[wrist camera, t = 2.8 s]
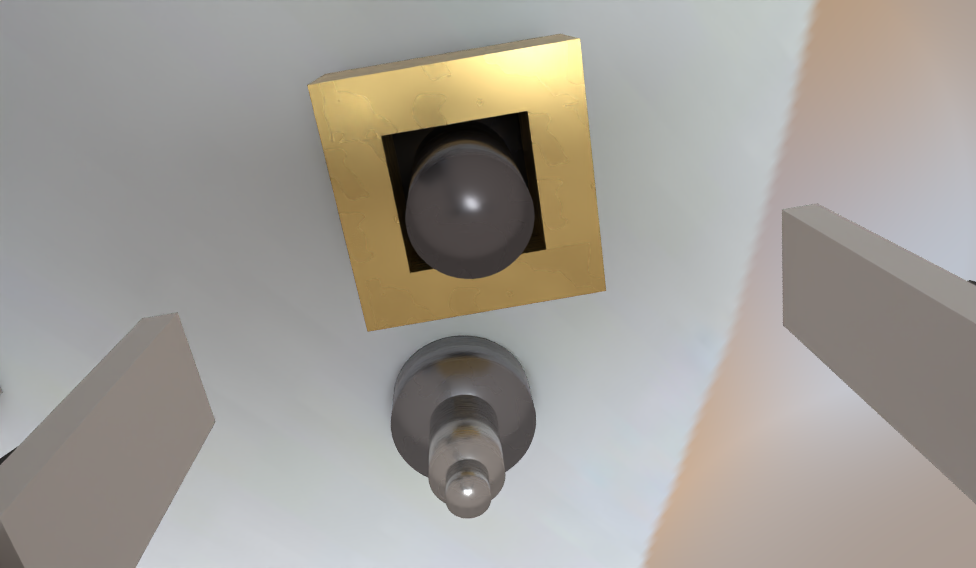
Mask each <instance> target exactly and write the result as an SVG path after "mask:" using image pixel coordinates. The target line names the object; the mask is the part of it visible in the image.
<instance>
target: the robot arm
mask: <svg viewBox="0 0 976 568" xmlns="http://www.w3.org/2000/svg"><path fill="white" fill-rule="evenodd" d="M782 269H783V270H782V271H783V326H784V327H786V328H787V329H788V330H789V331H790V332H791V333H792V334H793V335H794V336H795V337H796V338H797V339H798V340H800V341H801V342H802V343H803V344H804V345H805V346H806V347H807V348H808V349H809V350H810V351H811V352H812V353H814V354H815V355H816V356H817V357H818V358H819V359H820V360H821V361H822V362H823V363H824V364H825V365H827V366H828V367H829V368H830V369H831V370H832V371H833V372H834V373H835V374H836V375H837V376H838V377H839V378H840V379H842V380H843V381H844V382H845V383H846V384H847V385H848V386H849V387H850V388H851V389H853V391H855V392H856V393H857V394H858V395H859V396H860V397H861V398H862V399H863V400H864V401H865V402H866V403H867V404H868V405H870V406H871V407H872V408H873V409H874V410H875V411H876V412H877V413H878V414H879V415H881V417H882V418H884V419H885V420H886V421H887V422H888V423H889V424H890V425H891V426H892V427H893V428H894V429H895V430H896V431H898V432H899V433H900V434H901V435H902V436H903V437H904V438H905V439H906V440H907V441H908V442H909V443H911V444H912V445H913V446H914V447H915V448H916V449H917V450H918V451H919V452H920V453H921V454H922V455H923V456H925V457H926V458H927V459H928V460H929V461H930V462H931V463H932V464H933V465H934V466H935V467H936V468H937V469H939V470H940V471H941V472H942V473H943V474H944V475H945V476H946V477H947V478H948V479H949V480H950V481H952V482H953V483H954V484H955V485H956V486H957V487H958V488H959V489H960V490H961V491H962V492H963V493H964V494H966V495H967V496H968V497H969V498H970V499H971V500H972V501H973V502H974V503H975V504H976V282H975V281H971V280H969V281H966V280H964V279H962V278H960V277H958V276H956V275H954V274H952V273H950V272H948V271H947V270H944V269H943V268H941V267H939V266H937V265H935V264H933V263H931V262H929V261H927V260H925V259H923V258H922V257H919V256H918V255H916V254H914V253H912V252H910V251H908V250H906V249H904V248H902V247H900V246H898V245H896V244H895V243H893V242H891V241H889V240H887V239H885V238H883V237H881V236H879V235H877V234H875V233H873V232H871V231H869V230H867V229H866V228H864V227H862V226H860V225H858V224H856V223H854V222H852V221H850V220H848V219H846V218H844V217H842V216H841V215H839V214H836V213H834V212H833V211H831V210H829V209H827V208H825V207H823V206H821V205H819V204H811V205H806V206H799V207H794V208H788V209H783V210H782ZM214 423H215V419H214V416H213V413H212V410H211V407H210V405H209V402H208V399H207V396H206V393H205V390H204V387H203V384H202V382H201V379H200V376H199V373H198V370H197V367H196V364H195V361H194V359H193V356H192V353H191V350H190V347H189V344H188V341H187V338H186V335H185V333H184V330H183V327H182V324H181V321H180V318H179V315H178V312H177V313H171V314H165V315H159V316H154V317H148V318H142V319H141V320H140V321H139V322H138V323H137V324H136V325H135V326H134V327H133V329H132V330H131V331H130V332H129V333H128V334H127V335H126V336H125V337H124V338H123V339H122V340H121V341H120V342H119V343H118V344H117V345H116V346H115V347H114V348H113V349H112V350H111V351H110V352H109V353H108V354H107V355H106V356H105V357H104V358H103V359H102V361H101V362H100V363H99V364H98V365H97V366H96V367H95V368H94V369H93V370H92V371H91V372H90V373H89V374H88V375H87V376H86V377H85V378H84V379H83V380H82V381H81V382H80V383H79V384H78V385H77V386H76V387H75V388H74V389H73V390H72V392H71V393H70V394H69V395H68V396H67V397H66V398H65V399H64V400H63V401H62V402H61V403H60V404H59V405H58V406H57V407H56V408H55V409H54V410H53V411H52V412H51V413H50V414H49V415H48V416H47V417H46V418H45V419H44V420H43V421H42V423H41V424H40V425H39V426H38V427H37V428H36V429H35V430H34V431H33V432H32V433H31V434H30V435H29V436H28V437H27V438H26V439H25V440H24V441H23V442H22V443H21V444H20V445H19V446H18V447H17V448H15V449H14V450H12V451H11V452H9V453H8V454H6V455H5V456H3V457H2V458H0V568H135V567H136V566H137V564H138V562H139V560H140V558H141V557H142V555H143V553H144V551H145V549H146V547H147V546H148V544H149V542H150V540H151V538H152V536H153V535H154V533H155V531H156V529H157V527H158V526H159V524H160V522H161V520H162V518H163V516H164V515H165V513H166V511H167V509H168V507H169V505H170V504H171V502H172V500H173V498H174V496H175V495H176V493H177V491H178V489H179V487H180V485H181V484H182V482H183V480H184V478H185V476H186V474H187V473H188V471H189V469H190V467H191V465H192V464H193V462H194V460H195V458H196V456H197V454H198V453H199V451H200V449H201V447H202V445H203V443H204V442H205V440H206V438H207V436H208V434H209V433H210V431H211V429H212V427H213V425H214Z"/></svg>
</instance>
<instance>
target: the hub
mask: <svg viewBox="0 0 976 568" xmlns="http://www.w3.org/2000/svg"><path fill="white" fill-rule="evenodd" d="M535 427H536V414H535V408H534V404H533V400H532V396H531V392H530V387H529V383H528V379H527V376H526V374H525V371H524V369H523V368H522V366H521V364H520V363H519V362H518V360H517V359H516V358H515V357H514V356H513V355H512V354H511V353H510V352H509V351H508V350H506V349H505V348H503V347H502V346H500V345H498V344H496V343H495V342H492V341H489V340H487V339H483V338H479V337H473V336H454V337H448V338H444V339H440V340H437V341H435V342H432V343H430V344H428V345H426V346H424V347H423V348H421V349H420V350H418V351H417V352H416V353H415V354H414V355H413V356H411V357H410V359H409V360H408V361H407V362H406V363H405V365H404V366H403V368H402V369H401V371H400V373H399V375H398V378H397V381H396V384H395V390H394V398H393V407H392V416H391V431H392V437H393V440H394V443H395V446H396V448H397V450H398V452H399V453H400V455H401V456H402V457H403V459H404V460H405V461H406V462H407V463H408V464H409V465H410V466H411V467H412V468H413V469H415V470H416V471H417V472H419V473H421V474H422V475H424V476H426V477H428V478H429V484H430V487H431V489H432V491H433V493H434V494H435V495H436V496H437V498H439V499H440V500H441V501H443V502H444V503H446V505H447V507H448V509H449V511H450V512H451V513H453V514H454V515H456V516H458V517H461V518H474V517H477V516H480V515H481V514H483V513H484V512H485V511H486V510H487V509H488V508H489V506H490V503H491V500H492V499H493V498H495V497H496V496H497V495H498V493H499V492H500V491H501V489H502V487H503V485H504V481H505V472H506V471H508V470H509V469H510V468H512V467H513V466H514V465H515V464H516V463H517V462H518V461H519V460H520V459H521V458H522V457H523V455H524V454H525V453H526V451H527V450H528V448H529V446H530V444H531V442H532V439H533V437H534V432H535Z"/></svg>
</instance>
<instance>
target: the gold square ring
mask: <svg viewBox="0 0 976 568" xmlns="http://www.w3.org/2000/svg"><path fill="white" fill-rule="evenodd" d="M307 86H308V90H309V94H310V98H311V102H312V106H313V110H314V115H315V119H316V123H317V127H318V131H319V135H320V139H321V143H322V147H323V151H324V155H325V159H326V164H327V168H328V172H329V176H330V180H331V184H332V188H333V192H334V196H335V200H336V204H337V209H338V213H339V217H340V221H341V225H342V229H343V233H344V237H345V241H346V245H347V249H348V253H349V258H350V262H351V266H352V270H353V274H354V278H355V282H356V286H357V290H358V294H359V298H360V303H361V307H362V311H363V315H364V319H365V323H366V327H367V331H368V332H369V331H374V330H380V329H386V328H392V327H398V326H404V325H409V324H415V323H421V322H427V321H433V320H439V319H444V318H450V317H456V316H462V315H468V314H474V313H479V312H485V311H491V310H497V309H503V308H509V307H514V306H520V305H526V304H532V303H538V302H544V301H549V300H555V299H561V298H567V297H573V296H579V295H584V294H590V293H596V292H602V291H606V285H605V275H604V266H603V256H602V247H601V237H600V227H599V218H598V208H597V199H596V189H595V180H594V170H593V160H592V151H591V141H590V132H589V122H588V113H587V103H586V93H585V84H584V74H583V65H582V55H581V46H580V39H579V38H575V37H571V36H567V35H563V34H556V35H550V36H545V37H539V38H533V39H527V40H521V41H515V42H509V43H504V44H498V45H492V46H486V47H480V48H474V49H468V50H462V51H457V52H451V53H445V54H439V55H433V56H427V57H421V58H416V59H410V60H404V61H398V62H392V63H386V64H380V65H375V66H369V67H363V68H357V69H351V70H345V71H339V72H334V73H328V74H324V75H323V76H321V77H320V78H318V79H316V80H315V81H313V82H312V83H310V84H308V85H307ZM517 112H518V117H519V124H520V131H521V138H522V145H523V152H524V159H525V167H526V174H527V181H528V188H529V192H530V195H531V198H532V201H533V206H534V226H533V231H532V234H531V237H530V240H529V242H528V244H527V246H526V248H525V249H524V251H523V252H522V254H521V255H520V256H519V257H518V258H517V259H516V260H515V261H514V262H513V263H512V264H511V265H510V266H508V267H507V268H505V269H504V270H502V271H500V272H498V273H496V274H493V275H491V276H488V277H483V278H477V279H461V278H455V277H451V276H448V275H445V274H443V273H440V272H439V271H437V270H435V269H433V268H432V267H431V266H429V265H428V264H427V263H426V262H425V261H424V260H423V259H422V258H421V257H420V256H419V255H418V254H417V252H416V251H415V249H414V247H413V246H412V244H411V241H410V239H409V236H408V233H407V229H406V219H405V213H406V206H407V205H406V200H405V195H404V190H403V185H402V181H401V176H400V171H399V166H398V161H397V156H396V152H395V147H394V142H393V137H392V134H394V133H400V132H406V131H412V130H418V129H423V128H429V127H435V126H441V125H447V124H453V123H459V122H464V121H470V120H476V119H482V118H488V117H494V116H499V115H505V114H511V113H517Z"/></svg>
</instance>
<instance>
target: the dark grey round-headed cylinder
mask: <svg viewBox="0 0 976 568" xmlns="http://www.w3.org/2000/svg"><path fill="white" fill-rule="evenodd" d="M392 137H393V142H394V147H395V152H396V156H397V161H398V166H399V171H400V176H401V181H402V185H403V190H404V195H405V200H406V205H407V206H406V213H405V219H406V229H407V233H408V236H409V239H410V241H411V244H412V246H413V247H414V249H415V251H416V252H417V254H418V255H419V256H420V257H421V258H422V259H423V260H424V261H425V262H426V263H427V264H428V265H429V266H431V267H432V268H433V269H435V270H437V271H439V272H440V273H443V274H445V275H448V276H451V277H455V278H461V279H477V278H483V277H488V276H491V275H493V274H496V273H498V272H500V271H502V270H504V269H505V268H507V267H508V266H510V265H511V264H512V263H513V262H514V261H515V260H516V259H517V258H518V257H519V256H520V255H521V254H522V252H523V251H524V249H525V248H526V246H527V244H528V242H529V240H530V237H531V234H532V231H533V226H534V206H533V201H532V198H531V195H530V192H529V188H528V181H527V174H526V167H525V159H524V152H523V145H522V138H521V131H520V124H519V117H518V112H517V113H511V114H505V115H499V116H494V117H488V118H482V119H476V120H470V121H464V122H459V123H453V124H447V125H441V126H435V127H429V128H423V129H418V130H412V131H406V132H400V133H394V134H392Z"/></svg>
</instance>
